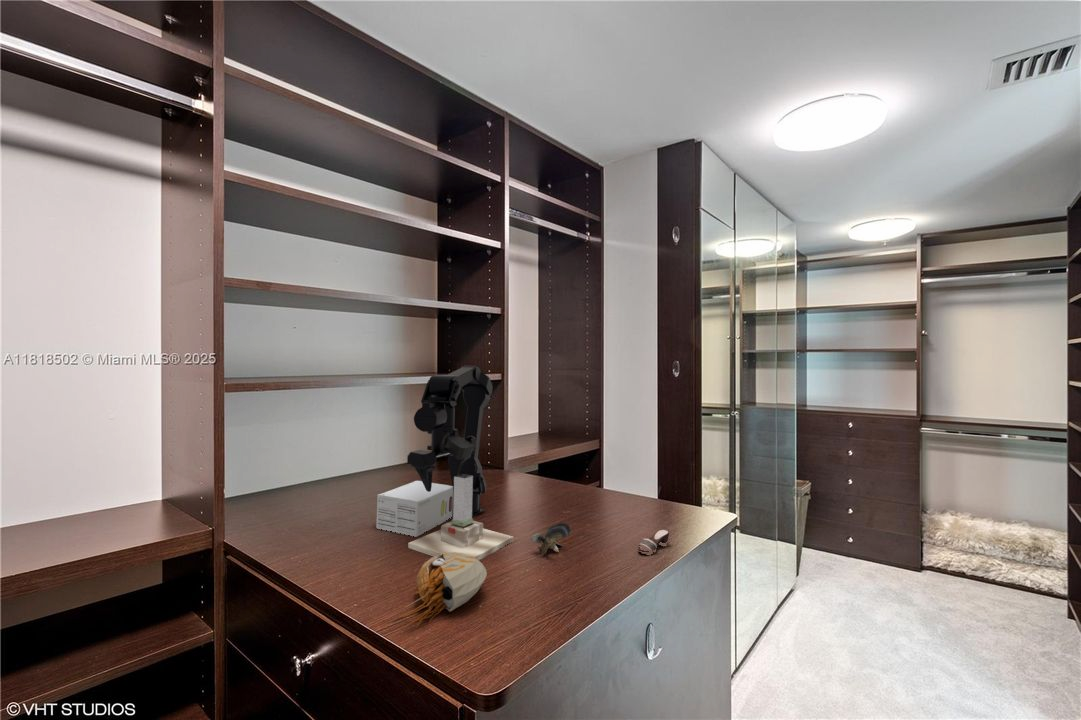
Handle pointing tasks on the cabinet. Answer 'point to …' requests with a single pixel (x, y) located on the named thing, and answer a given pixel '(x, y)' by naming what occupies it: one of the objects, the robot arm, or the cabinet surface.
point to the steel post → (462, 500)
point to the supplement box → (414, 508)
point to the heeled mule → (655, 540)
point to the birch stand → (461, 540)
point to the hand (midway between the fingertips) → (441, 487)
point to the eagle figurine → (552, 537)
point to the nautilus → (447, 582)
